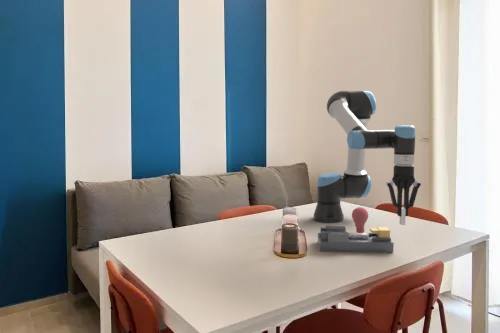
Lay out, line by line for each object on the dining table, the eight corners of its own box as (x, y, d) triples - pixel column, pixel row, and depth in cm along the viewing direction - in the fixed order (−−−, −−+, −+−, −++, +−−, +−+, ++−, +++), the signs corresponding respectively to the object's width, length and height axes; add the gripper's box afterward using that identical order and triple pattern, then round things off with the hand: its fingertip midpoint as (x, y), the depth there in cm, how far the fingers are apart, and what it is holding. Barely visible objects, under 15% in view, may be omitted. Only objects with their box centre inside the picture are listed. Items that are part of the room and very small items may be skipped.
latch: (371, 239, 165) (372, 230, 164) (369, 235, 169) (369, 226, 169) (389, 239, 164) (390, 230, 163) (386, 235, 169) (387, 227, 168)
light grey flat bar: (324, 237, 167) (324, 235, 167) (323, 235, 170) (323, 233, 170) (368, 237, 166) (368, 235, 165) (367, 235, 169) (367, 232, 168)
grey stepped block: (320, 251, 163) (320, 234, 162) (317, 242, 175) (318, 225, 174) (393, 252, 161) (393, 235, 160) (385, 243, 173) (386, 226, 172)
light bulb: (349, 234, 186) (350, 208, 184) (353, 230, 192) (354, 205, 190) (365, 236, 182) (366, 209, 181) (369, 232, 189) (370, 206, 187)
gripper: (389, 166, 159) (387, 226, 162) (424, 166, 158) (422, 226, 161) (384, 164, 167) (383, 221, 169) (418, 163, 165) (416, 221, 168)
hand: (402, 224), depth 165 cm, fingers closed
